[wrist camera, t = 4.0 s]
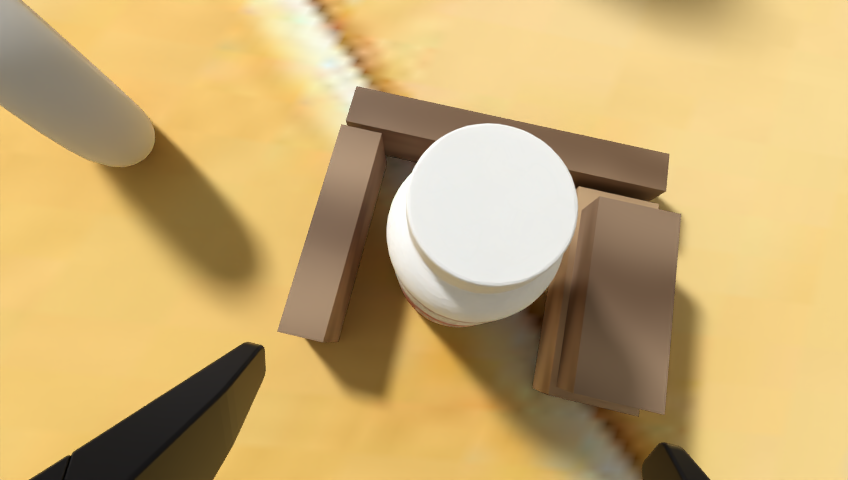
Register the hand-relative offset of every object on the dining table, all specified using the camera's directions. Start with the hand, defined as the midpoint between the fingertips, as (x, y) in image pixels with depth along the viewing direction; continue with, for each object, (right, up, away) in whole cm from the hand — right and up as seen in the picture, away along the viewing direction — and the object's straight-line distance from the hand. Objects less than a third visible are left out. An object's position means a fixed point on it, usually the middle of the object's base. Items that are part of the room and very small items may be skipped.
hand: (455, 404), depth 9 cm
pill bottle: (+1, +2, +13) cm, 13 cm away
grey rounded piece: (-18, +10, +14) cm, 25 cm away
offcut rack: (+2, +3, +13) cm, 13 cm away
